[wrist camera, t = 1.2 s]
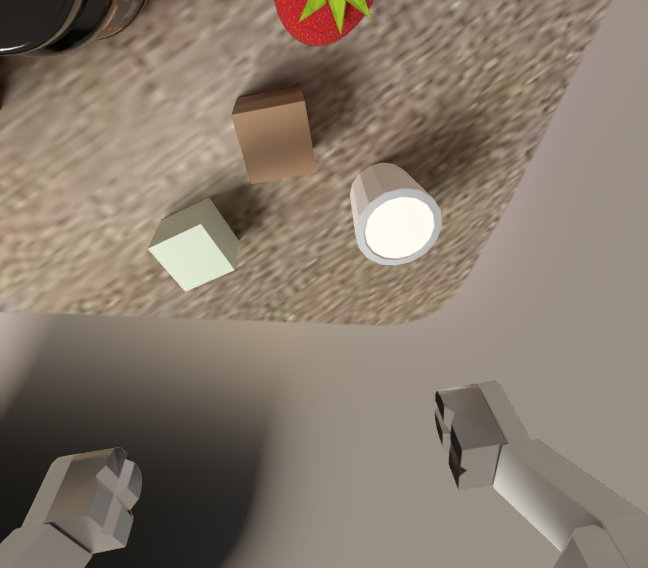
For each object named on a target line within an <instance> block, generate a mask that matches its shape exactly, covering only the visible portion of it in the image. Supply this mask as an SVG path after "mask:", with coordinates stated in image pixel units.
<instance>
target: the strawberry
mask: <svg viewBox="0 0 648 568" xmlns="http://www.w3.org/2000/svg"><path fill="white" fill-rule="evenodd" d="M373 1H374V0H274V2H275V6H276V9H277V13H278V16H279V18H280V20H281V22H282V24H283V26H284V27H285V28H286V30H287V31H288V32H289V33H290V35H292V36H293V37H294V38H295V39H297V40H298V41H300V42H302V43H304V44H307V45H312V46H322V45H328V44H331V43H333V42H336V41H338V40H339V39H341V38H342V37H344V36H345V35H347V34H348V33H349V32H350V31H351V30H352V29H353V28H354V27H355V26H356V25H358V23H359V22H360V21H361V20H362V18H363V17H364V16H365V15H366V16H368V17H369V18H370V19H372V17H371V14H370V12H369V8H370V6H371V4H372V2H373Z"/></svg>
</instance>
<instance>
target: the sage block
mask: <svg viewBox="0 0 648 568" xmlns="http://www.w3.org/2000/svg"><path fill="white" fill-rule="evenodd" d="M238 242H239V240H238V239H237V237H236V236H235V234H234V233H233V231H232V230H231V228H230V227H229V226H228V224H227V223H226V221H225V220H224V218H223V217H222V215H221V214H220V212H219V211H218V210H217V208H216V207H215V205H214V204H213V202H212V201H211V199H210V198H209V197H208V198H206V199H204V200H202V201H200V202H198V203H196V204H194V205H191V206H189V207H187V208H185V209H183V210H181V211H179V212H177V213H175V214H173V215H171V216H168V217H166V218H164V219H162V220H161V222H160V224H159V226H158V228H157V230H156V233H155V235H154V237H153V239H152V241H151V243H150V245H149V247H148V249H149V251H150V252H151V253H152V254H153V255H154V256H155V257H156V259H157V260H158V261H159V262H160V263H161V264H162V266H163V267H164V268H165V269H166V270H167V271H168V272H169V274H170V275H171V276H172V277H173V278H174V279H175V280H176V282H177V283H178V284H179V285H180V286H181V287H182V288H183V290H184V291H188V290H190V289H192V288H194V287H197V286H199V285H201V284H204V283H206V282H208V281H211V280H213V279H215V278H217V277H220V276H222V275H224V274H227V273H229V272H231V271H233V270H235V264H236V256H237V249H238Z"/></svg>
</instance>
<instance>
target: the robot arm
mask: <svg viewBox="0 0 648 568" xmlns="http://www.w3.org/2000/svg"><path fill="white" fill-rule="evenodd" d="M435 401H436V403H437V406H438V407H437V409H436V410H435V421H436V427H437V431H438V435H439V438H440V441H441V444H442V446H443V447H444V448H445V449H446V450H447V451H449V466H450V469H451V472H452V474H453V477H454V480H455V483H456V485H457V488H458V490H461V489H468V488H476V487H483V486H489V485H493V487H494V488H495V489H496V490H497V491H498V492H499V493H500V494H501V495H502V496H503V497H504V498H505V499H506V500H507V501H508V502H509V503H510V504H511V505H512V506H513V507H515V508H516V509H517V510H518V511H519V512H520V513H521V514H522V515H523V516H524V517H525V518H526V519H527V520H528V521H529V522H530V523H531V524H532V525H534V526H535V527H536V528H537V529H538V530H539V531H540V532H541V533H542V534H543V535H544V536H545V537H546V538H547V539H548V540H549V541H550V542H551V543H552V544H553V545H554V546H556V548H558V549H559V550H560V551H561V554H560V556H559V558H558V560H557V562H556V563H555V566H554V568H648V514H647V513H645V512H644V511H642V510H641V509H639V508H638V507H636V506H635V505H633V504H632V503H631V502H629V501H628V500H626V499H625V498H623V497H622V496H620V495H619V494H617V493H616V492H615V491H613V490H612V489H610V488H609V487H607V486H606V485H604V484H603V483H601V482H600V481H599V480H597V479H596V478H594V477H593V476H591V475H590V474H588V473H587V472H585V471H584V470H583V469H581V468H580V467H578V466H577V465H575V464H574V463H572V462H571V461H569V460H568V459H567V458H565V457H564V456H562V455H561V454H559V453H558V452H556V451H555V450H553V449H552V448H550V447H549V446H548V445H546V444H545V443H543V442H542V441H540V440H539V439H534V440H532V439H531V437H530V436H529V434H528V432H527V430H526V429H525V427H524V425H523V423H522V422H521V420H520V418H519V416H518V415H517V413H516V411H515V409H514V407H513V406H512V404H511V402H510V400H509V399H508V397H507V395H506V393H505V392H504V390H503V388H502V386H501V385H500V384H499V383H498V382H497V381H489V382H484V383H480V384H471V385H466V386H461V387H455V388H450V389H445V390H440V391H437V392H436V393H435ZM126 455H127V454H126V453H125V452H124V451H123V450H122V449H121V448H120V447H119V448H114V449H107V450H100V451H95V452H88V453H83V454H75V455H69V456H64V457H58V458H57V459H56V460H55V461H54V462H53V463H52V465H51V467H50V469H49V471H48V473H47V475H46V477H45V479H44V481H43V483H42V485H41V487H40V490H39V492H38V494H37V496H36V498H35V500H34V502H33V504H32V506H31V508H30V511H29V513H28V515H27V517H26V519H25V521H24V523H23V525H22V527H21V528H19V529H15V530H14V531H13V532H12V533H11V534H10V535H9V536H8V537H7V538H6V539H5V540H4V541H3V542H2V543H1V544H0V568H84V567H85V565H86V564H87V563H88V561H89V560H90V558H91V557H92V555H91V554H93V553H97V552H103V551H107V550H112V549H118V548H123V547H126V543H127V539H128V536H129V532H130V529H131V525H132V521H133V516H132V513H131V511H130V509H131V508H132V507H133V505H134V504H135V503H136V502H137V500H138V499H139V495H140V491H141V473H140V470H139V468H138V466H137V465H136V464H135V463H134V462H131V461H128V460H126V459H125V458H126Z"/></svg>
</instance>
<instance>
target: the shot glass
mask: <svg viewBox="0 0 648 568" xmlns="http://www.w3.org/2000/svg"><path fill="white" fill-rule="evenodd" d="M350 197H351V205H352V212H353V220H354V227H355V234H356V238H357V243H358V247H359V249H360V250H361V251H362V252H363V253H364V255H365V256H366V257H367V258H368V259H370V260H372V261H375V262H377V263H379V264H383V265H400V264H404V263H408V262H412V261H413V260H415V259H417V258H418V257H420V256H421V255H423V254H425V253H426V252H427V251H428V250H429V248H430V247H431V246H432V245H433V244H434V243H435V242H436V240H437V238H438V235H439V232H440V229H441V227H442V220H441V210H440V209H439V207H438V205H437V204H436V202H435V200H434V199H433V198H432V197H431V196H430V195H429V194H428V193H427V192H426V191H425V190H424V189H423V188H422V187H421V186H420V185H419V184H418V183H417V182H416V181H415V180H414V179H413V178H412V177H411V176H410V175H409V174H408V173H406V172H405V171H404V170H403V169H402V168H400V167H398V166H397V165H395V164H391V163H383V162H382V163H378V164H374V165H371V166H369V167H367V168H366V169H365V170H363V171H362V172H360V173H359V174H358V176H357V178H356V179H355V181H354V182H353V184H352V188H351V193H350Z"/></svg>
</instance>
